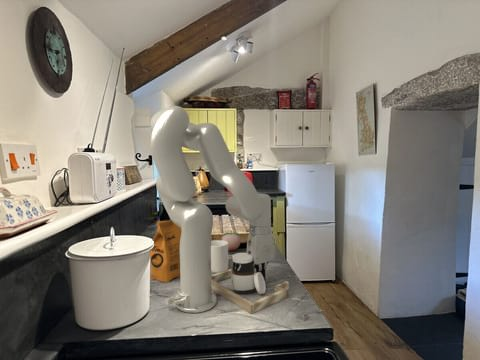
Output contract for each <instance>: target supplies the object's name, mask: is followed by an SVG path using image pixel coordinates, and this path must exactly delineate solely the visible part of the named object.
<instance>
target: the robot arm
mask: <svg viewBox="0 0 480 360" xmlns="http://www.w3.org/2000/svg"><path fill="white" fill-rule="evenodd" d="M150 129H151V131H152V132H151V136H150V143H149V144H150V145H149V146H150V154H151V157H152V160H153V163H154V165H155V168H156V169H157V170H156V171H157V172H158V177H157V179H156V184H155V186H156V190H157V193H158V195H159V199H160V200H161V202H162V205H163V207H164V209H165V210H166V213H167V214H168V217H169V218H170V219H169V220H172V222H173V223H174V224H175V225H177V226H178V227H180V228H181V230H182V231H181V238H180V276H179V277H180V278H179V280H180V284H179V285H180V289H177V293H175V294H174V295H173V296H169V297H166V298H165V299H164V301H165V304H166V305H167V306H169V305H172V304H173V306H174V307H176V308H177V309H179V311H182V312H185V313H187V314H188V313H189V314H196V313H198V314H199V313H202V312H206V311H209V310H210V309H213V307H215V305H217V302H218V301H217V299H218V298H217V295H216V294H215V293H214V292H212V291H213V290H212V286H211V275H212V272H211V241H212V231H213V226H214V216H213V213H212V211H211V209H210V208H209V207H208V206H207V205H206V204H204V203H202V202H199V201H197V200H194V199H193V198H194V197H195V195H196V192H197V183H196V181H195V178H194V175H193V173H192V172H191V169H190V166H189V164H188V162H187V160H186V157H185V154H184V152H183V148H184V149H187V150H191V151H197V152H198V151H199V154H200V156H201V158H202V160H203V162H204V163H205V164H204V165H206V168H207V170H208V172H209V174H210V175H211V177H212V178H213V179H214V180H215V181H216V182H217V183H219V184H221V186H223V187H224V188H226V189H227V190H228V191H229V192H230V193H231V194H232V196H230V197H229V198H228V199H227V200H226V201H225V209H226V212H227V213H228V214H229V215H231V216H232V217H234V218H239V219H241V220H244V221H247V222H249V227H248V229H247V232H248V236H247V242H246V253H247V254H248V255H249V254H250V255H251V256H252V257H253V260H252V262H253V264H254V268H255V273H257V272H261V273H262V275H263V277H264V281H265V282H266V270H267V268H268V264H269V263H270V262H271V261H273V260H274V259H275V258H276V247H275V246H276V245H275V237H274V233H273V231H272V219H271V218H272V208H271V207H272V201H271V197H270V195H269V194H267V193H258V191H257V190H256V188H255V185H254V184H253V183H252V181H251V180H250V178H248V177H247V175H246V174H245V173H244V172H243V170H242V169H240V167H239V166H238V165H237V164H236V162H235V160H234V158H233V156H232V154H231V152H230V149H229V147H228V145H227V143H226V141H225V139H224V137H223V134H222V133H221V130H220V129H219V127H218V126H217V125H216V124H214V123H211V122H204V123H203V122H202V123H198V124H195V123H193V122H190V116H189V114H188V112H187V111H186V110H185V109H184V108H183V107H181V106H179V105H170V106H168V107H167V106H166V107H165V108H163V109H161V110H159V111H157V112H156V113H154V115H153V116H152V117H151V120H150Z"/></svg>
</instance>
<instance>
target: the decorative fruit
mask: <svg viewBox="0 0 480 360" xmlns="http://www.w3.org/2000/svg"><path fill="white" fill-rule="evenodd" d="M221 236H222V237H221V240H223V241H227V242H228V251H230V252H233V251H235V250H237V249H238V248H239V247H240V245H241V237H240V236H242V235H241V234H240V233H239V232H236V231H235V232H233V231H232V230H230V232H223V233H222V234H221Z"/></svg>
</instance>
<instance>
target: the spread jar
mask: <svg viewBox="0 0 480 360" xmlns="http://www.w3.org/2000/svg"><path fill="white" fill-rule="evenodd" d="M252 260H253V257H252V256H251V255H250V254H249V255H248V254H247V252H236V253H234V254H232V261H231V265H230V266H231V268H230V269H231V277H230V278H231V279H230V280H231V289H232V292H234V293H236V294H238V295H239V294H241V295H242V294H243V295H244V294H245V295H246V294H250V293H252V292H254V290H255V289H256V291H257V293H258V294H259V295H262V294H263V295H264V294H265V293H266V280H265V281H264V277H263V275H262V273H261V272H257V273H256V270H255V271H254V264H253V262H252Z"/></svg>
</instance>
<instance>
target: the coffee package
mask: <svg viewBox="0 0 480 360" xmlns="http://www.w3.org/2000/svg"><path fill="white" fill-rule="evenodd" d="M155 225H156V226H157V229H156V233H155V236H154V237H153V239H152V241H154V247H153V249H152V250H151V251H150V250H149V260H150V259H151V276H150V278H151V279H152V280H156V281H158V282H161V283H169V282H171V281H172V280H173V279H175V278H176V279H177V278H179V277H180V238H181V231H182V230H181V228H180V227H178V226H177V225H175V224H174V223H173V222H172V220H171V219H168V220H162V221H161V220H160V221H156V222H155Z"/></svg>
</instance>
